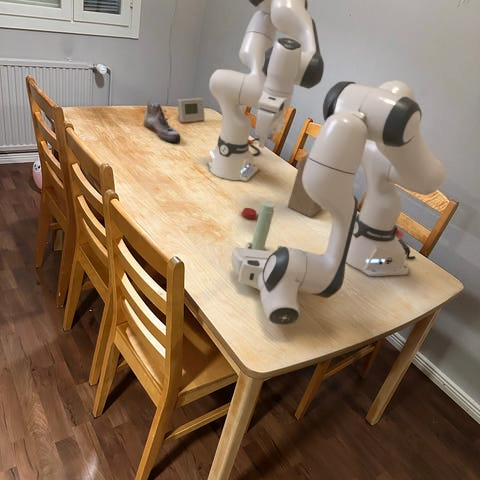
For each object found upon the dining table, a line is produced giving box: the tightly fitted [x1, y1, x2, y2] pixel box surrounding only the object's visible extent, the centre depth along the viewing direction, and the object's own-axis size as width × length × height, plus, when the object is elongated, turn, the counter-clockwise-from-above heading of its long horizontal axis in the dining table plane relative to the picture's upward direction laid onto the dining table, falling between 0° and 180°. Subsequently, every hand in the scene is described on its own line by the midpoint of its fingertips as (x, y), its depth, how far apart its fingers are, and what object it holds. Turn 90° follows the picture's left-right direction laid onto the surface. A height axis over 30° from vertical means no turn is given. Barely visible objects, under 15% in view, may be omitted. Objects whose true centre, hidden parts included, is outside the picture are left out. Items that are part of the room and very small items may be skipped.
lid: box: [241, 207, 258, 221], centre depth 152 cm, size 5×5×2 cm
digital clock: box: [177, 97, 206, 124], centre depth 221 cm, size 16×9×11 cm, turn 123°
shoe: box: [143, 101, 181, 144], centre depth 198 cm, size 25×11×12 cm, turn 30°
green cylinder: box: [251, 200, 275, 251], centre depth 132 cm, size 4×4×16 cm
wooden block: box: [287, 153, 323, 218], centre depth 160 cm, size 10×10×20 cm
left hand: (265, 142), depth 138 cm, fingers open, 8 cm apart
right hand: (264, 246), depth 127 cm, fingers open, 8 cm apart
